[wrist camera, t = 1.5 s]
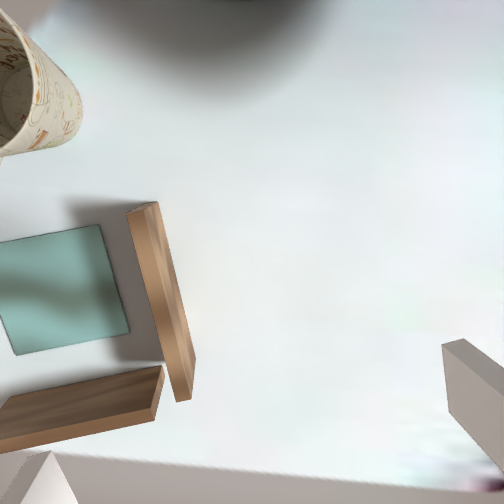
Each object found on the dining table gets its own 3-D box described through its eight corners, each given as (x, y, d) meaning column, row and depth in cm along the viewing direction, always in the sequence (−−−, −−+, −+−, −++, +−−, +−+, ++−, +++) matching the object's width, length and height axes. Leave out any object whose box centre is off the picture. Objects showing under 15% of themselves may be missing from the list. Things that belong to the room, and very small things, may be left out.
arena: (-53, 240, 29) (-122, 259, 23) (157, 201, 29) (143, 210, 24) (15, 407, 33) (-29, 460, 27) (198, 369, 34) (194, 412, 28)
